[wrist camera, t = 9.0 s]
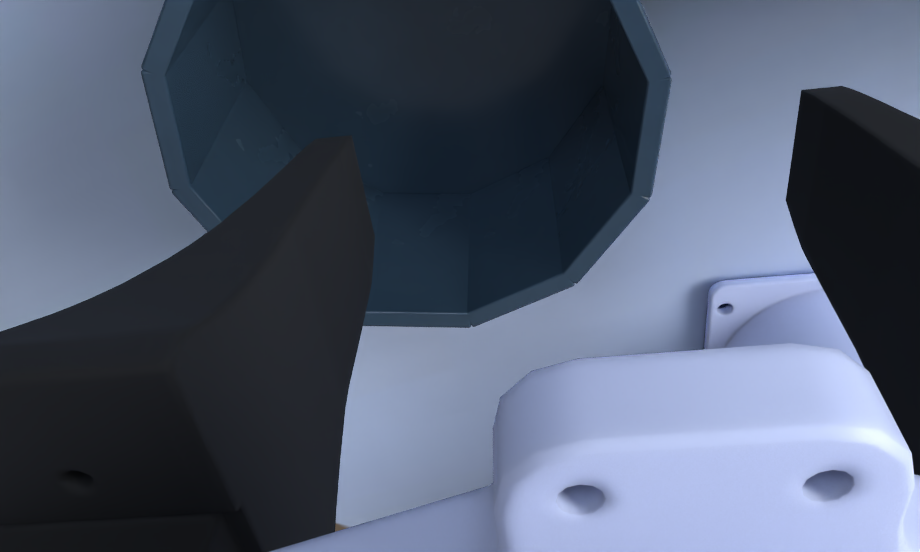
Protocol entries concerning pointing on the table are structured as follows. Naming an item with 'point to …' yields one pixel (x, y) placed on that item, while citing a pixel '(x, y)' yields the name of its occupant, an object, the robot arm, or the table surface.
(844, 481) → the robot arm
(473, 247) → the saucepan
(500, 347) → the table surface
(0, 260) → the table surface
